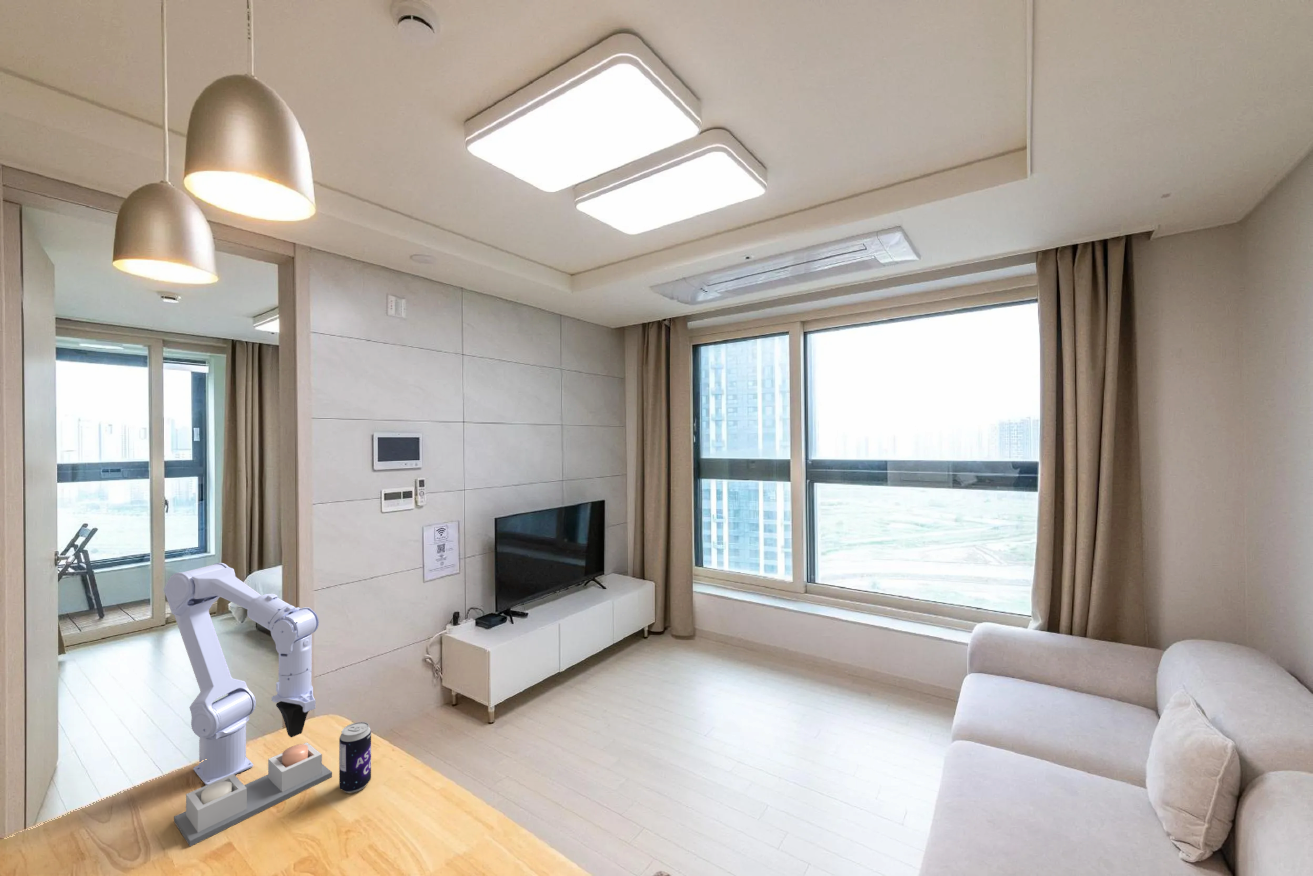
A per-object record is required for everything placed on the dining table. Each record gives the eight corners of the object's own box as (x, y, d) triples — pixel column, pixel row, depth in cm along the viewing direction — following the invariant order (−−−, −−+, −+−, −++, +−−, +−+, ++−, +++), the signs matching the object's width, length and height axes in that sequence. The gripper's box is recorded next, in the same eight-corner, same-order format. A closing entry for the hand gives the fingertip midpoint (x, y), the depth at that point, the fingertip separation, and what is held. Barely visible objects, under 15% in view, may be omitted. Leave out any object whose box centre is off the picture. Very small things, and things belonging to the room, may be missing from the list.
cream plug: (198, 813, 98) (198, 791, 98) (227, 799, 102) (227, 778, 102) (205, 823, 95) (205, 800, 95) (235, 809, 99) (235, 787, 99)
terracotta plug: (278, 772, 109) (278, 752, 109) (302, 761, 112) (302, 742, 112) (287, 780, 106) (287, 759, 106) (311, 769, 110) (311, 749, 110)
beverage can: (356, 797, 104) (356, 738, 104) (332, 793, 105) (332, 734, 105) (377, 779, 110) (377, 722, 110) (354, 775, 111) (354, 719, 111)
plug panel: (174, 821, 97) (174, 795, 97) (311, 759, 116) (311, 737, 116) (189, 846, 92) (189, 818, 92) (331, 776, 110) (332, 753, 110)
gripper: (259, 667, 110) (259, 731, 110) (287, 687, 101) (287, 756, 102) (297, 655, 116) (297, 716, 116) (326, 673, 107) (326, 739, 107)
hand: (295, 734), depth 109 cm, fingers closed
